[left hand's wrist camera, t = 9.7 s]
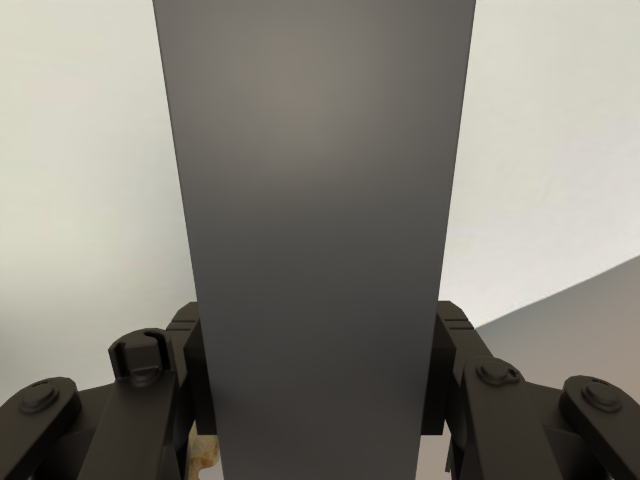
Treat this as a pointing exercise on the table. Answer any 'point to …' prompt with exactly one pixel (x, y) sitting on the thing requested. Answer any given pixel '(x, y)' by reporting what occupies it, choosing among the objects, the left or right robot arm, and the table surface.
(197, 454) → the sculpture
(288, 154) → the plank
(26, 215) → the table surface
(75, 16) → the table surface
